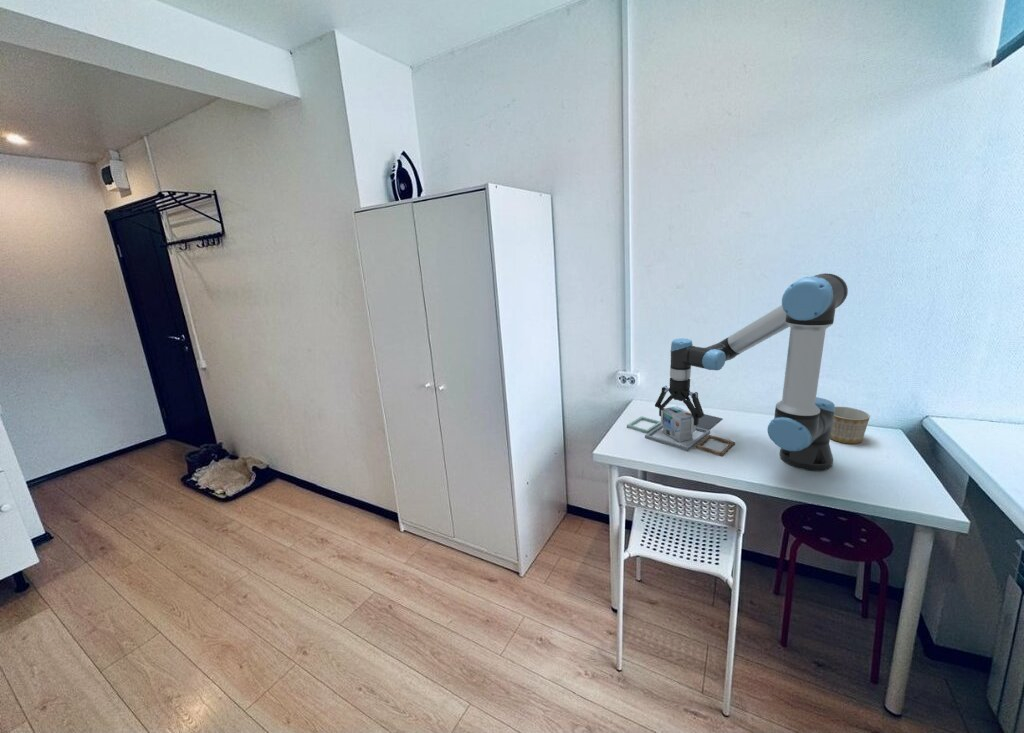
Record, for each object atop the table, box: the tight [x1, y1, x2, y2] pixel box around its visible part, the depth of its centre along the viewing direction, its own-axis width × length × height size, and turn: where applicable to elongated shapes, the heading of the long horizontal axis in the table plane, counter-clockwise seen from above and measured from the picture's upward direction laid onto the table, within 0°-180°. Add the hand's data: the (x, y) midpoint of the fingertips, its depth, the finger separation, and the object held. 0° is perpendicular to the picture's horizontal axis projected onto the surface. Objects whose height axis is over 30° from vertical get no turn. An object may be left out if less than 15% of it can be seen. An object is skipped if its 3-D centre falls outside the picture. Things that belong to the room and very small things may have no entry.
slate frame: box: [644, 425, 711, 452], centre depth 168 cm, size 18×20×1 cm
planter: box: [830, 406, 871, 445], centre depth 154 cm, size 13×13×10 cm
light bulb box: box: [662, 405, 694, 443], centre depth 166 cm, size 11×7×11 cm, turn 18°
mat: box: [696, 413, 723, 431], centre depth 178 cm, size 11×15×1 cm
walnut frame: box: [694, 434, 736, 457], centre depth 157 cm, size 10×12×1 cm
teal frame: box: [626, 415, 661, 434], centre depth 178 cm, size 10×12×1 cm
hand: (677, 427), depth 167 cm, fingers closed on light bulb box, 12 cm apart
